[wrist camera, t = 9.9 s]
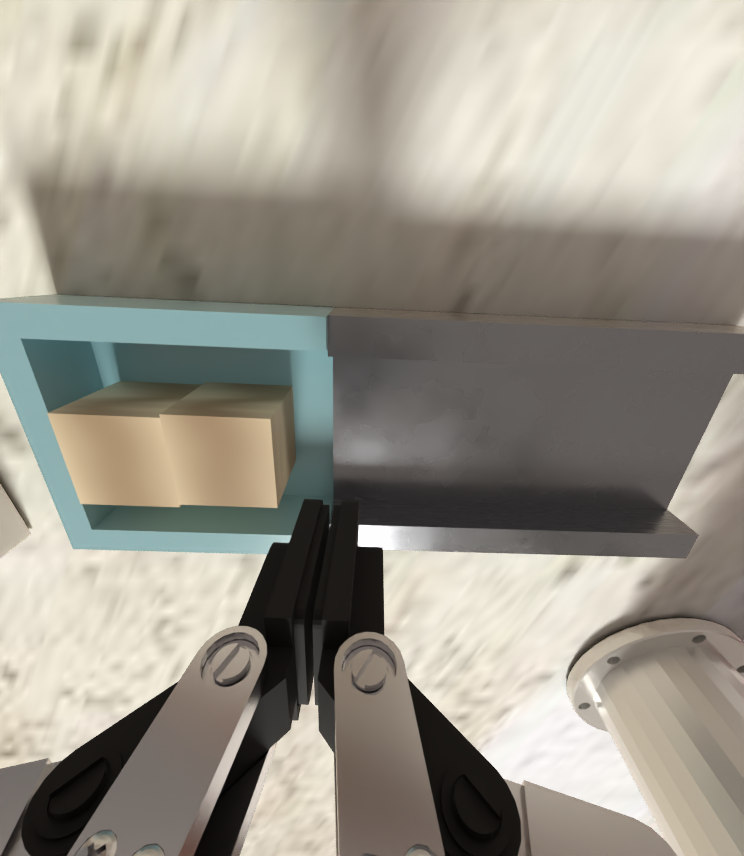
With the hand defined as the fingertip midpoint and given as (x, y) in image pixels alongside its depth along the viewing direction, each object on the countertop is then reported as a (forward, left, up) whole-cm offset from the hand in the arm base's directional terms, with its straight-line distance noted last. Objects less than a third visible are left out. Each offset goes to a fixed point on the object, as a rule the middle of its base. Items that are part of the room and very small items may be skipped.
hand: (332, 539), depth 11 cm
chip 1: (+7, +4, -7) cm, 11 cm away
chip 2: (+4, +2, -7) cm, 9 cm away
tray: (+6, +3, -8) cm, 10 cm away
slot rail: (-7, -5, -8) cm, 11 cm away
